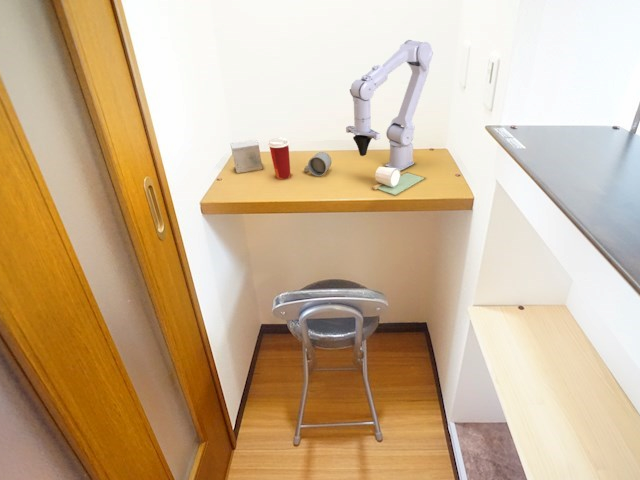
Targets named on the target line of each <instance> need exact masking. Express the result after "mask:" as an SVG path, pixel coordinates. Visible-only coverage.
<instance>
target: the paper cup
mask: <svg viewBox="0 0 640 480" xmlns="http://www.w3.org/2000/svg"><path fill="white" fill-rule="evenodd" d="M289 145H290V142H289V140H288V139H287V138H285V137H276V138H271V139H270V140H269V142H268V145H267V146H268V147H269V151H270V154H271V160H272V165H273V170H274V174H275V178H277V179H279V180H286V179H289V178H290V177H291V160H290V149H289V148H290V147H289Z"/></svg>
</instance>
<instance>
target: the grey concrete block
mask: <svg viewBox="0 0 640 480" xmlns="http://www.w3.org/2000/svg"><path fill="white" fill-rule="evenodd" d="M230 148H231V154H232V158H233V162H234V163H233V164H234V168H235V171H236V174H241V173H246V172H254V171H260V170H264V169H263V163H262V157H261V152H260V151H261V150H260V144H259V142H258V140H257V139H252V140H243V141H235V142H230Z"/></svg>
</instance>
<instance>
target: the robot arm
mask: <svg viewBox="0 0 640 480" xmlns="http://www.w3.org/2000/svg"><path fill="white" fill-rule="evenodd" d="M433 55H434V51H433V48H432V45H431V44H430V43H429V42H428V41H424V42H423V41H417V40H413V39H407V40H405V41H404V42H403V43H402V44H400V45H399V49H398V50H397V51H396V52H394V53H393V54H392V55H391V57H389V58H388V59H387V60H386V61H385V62H384V63H383V64H382V65H379V64H378V65H377V64H376V65H373V66H372V67H371V70H370V71H368V72H367V73H366V74H364V75H362V76H361V78H360V79H355V80H354V81H353V82H352V83H351V86H350V89H349V93H350V96H351V97H352V102H353V119H354V120H353V121H354V125H348V126H346V127H345V133H350V134H353V135H355V136H353V137H352V138H353V141H354V142H355V144H356V147H357V150H358V152H359V153H358V154H359V155H360V156H361V157H364V156H366V155H367V153H368V148H369V145H370V143H371V140H375V141H378V140H381V132H377V131H375V130H374V129H372V128H371V127H372V126H371V125H372V124H371V99H372V98H373V97H374V95H375V92H376V90H377V89H378V88H379V87H381V86H382V85H383V84H384V83H385V82H386V81H388V76H389V75H390V74H391V73H392V72H394V71H395V70H396V69H398V68H399V67H400V66H402V65H403V64H405V63H406V64H407V65H408V66H409V67H410V70H411V76H410V78H409V82H408V85H407V88H406V91H405V93H404V97H403V99H402V102H401V106H400V109H399V111H398V114H397V116H396V117H394V118H393V119H392V120H391V122H390V123H389V125H388V127H387V129H386V131H385V132H386V133H385V135H386V138H387V139H388V143H389V162H388V163H386V164H385V165H384V167H389V168H398V169H399V170H400V172H401V171H403V170H405V169H407V168H410V167H411V166H413V165H414V164H415V162H414V159H413V158H414V145H413V143H412V142H413V139H414V132H415V125H414V123H413V117H414V115H415V112H416V109H417V107H418V104H419V100H420V97H421V95H422V92H423V89H424V86H425V83H426V81H427V78H428V74H429V72H430V64H431V61H432V58H433Z"/></svg>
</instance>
